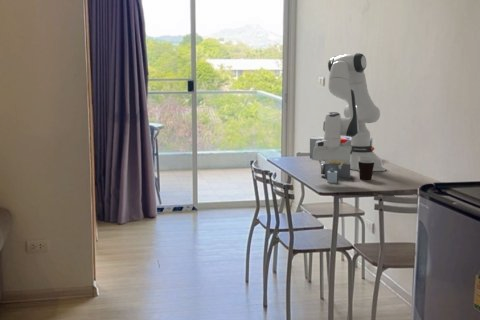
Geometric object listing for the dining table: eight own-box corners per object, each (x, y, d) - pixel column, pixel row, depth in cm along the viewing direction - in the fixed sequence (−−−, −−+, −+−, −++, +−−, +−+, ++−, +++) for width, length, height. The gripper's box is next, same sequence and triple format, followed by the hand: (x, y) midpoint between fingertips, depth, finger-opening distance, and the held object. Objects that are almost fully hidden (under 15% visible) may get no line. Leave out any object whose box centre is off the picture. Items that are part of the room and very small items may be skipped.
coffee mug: (370, 181, 314) (371, 163, 312) (355, 179, 319) (355, 161, 317) (377, 178, 324) (378, 160, 322) (362, 176, 328) (363, 158, 327)
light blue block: (336, 181, 316) (336, 168, 315) (336, 182, 311) (337, 169, 310) (327, 180, 317) (327, 167, 316) (327, 182, 312) (327, 169, 311)
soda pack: (372, 157, 390) (372, 137, 388) (371, 161, 378) (372, 140, 376) (311, 155, 401) (312, 135, 399) (308, 158, 389) (309, 137, 386)
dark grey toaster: (349, 174, 333) (349, 158, 331) (350, 178, 322) (350, 161, 320) (320, 173, 335) (321, 157, 333) (320, 177, 324) (321, 160, 323)
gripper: (351, 142, 312) (350, 168, 314) (313, 141, 315) (312, 166, 317) (352, 144, 306) (350, 170, 308) (312, 143, 309) (311, 168, 311)
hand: (330, 168), depth 313 cm, fingers open, 8 cm apart
